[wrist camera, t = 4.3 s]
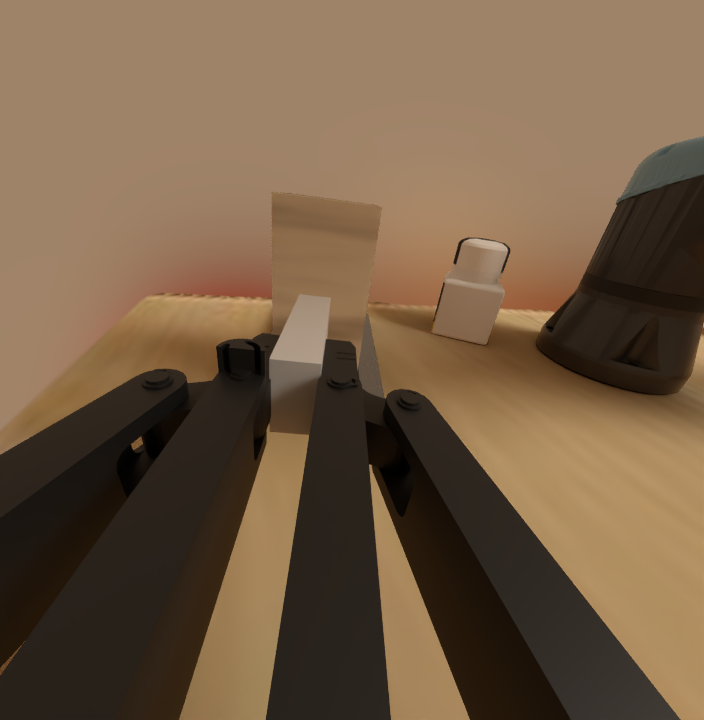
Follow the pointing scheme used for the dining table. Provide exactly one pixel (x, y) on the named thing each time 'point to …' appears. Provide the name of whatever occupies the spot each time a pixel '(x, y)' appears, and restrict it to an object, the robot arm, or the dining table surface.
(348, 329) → the birch block
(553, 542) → the dining table surface
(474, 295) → the medicine bottle
